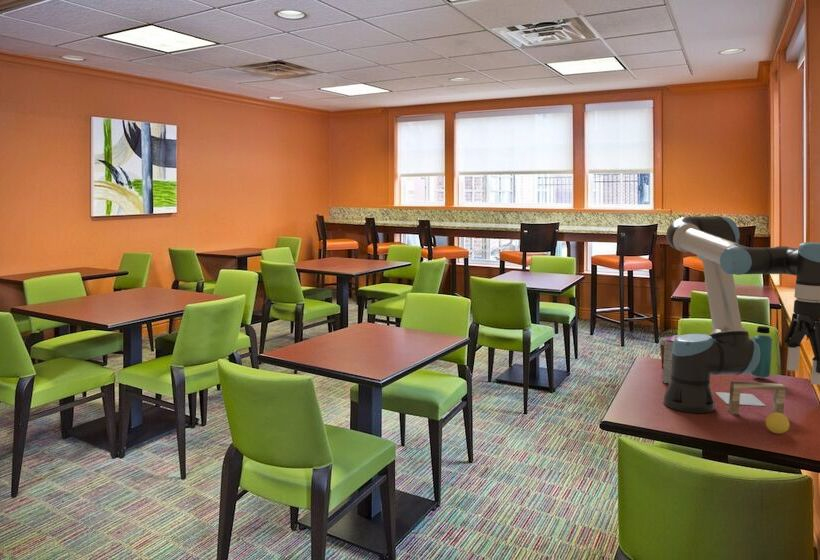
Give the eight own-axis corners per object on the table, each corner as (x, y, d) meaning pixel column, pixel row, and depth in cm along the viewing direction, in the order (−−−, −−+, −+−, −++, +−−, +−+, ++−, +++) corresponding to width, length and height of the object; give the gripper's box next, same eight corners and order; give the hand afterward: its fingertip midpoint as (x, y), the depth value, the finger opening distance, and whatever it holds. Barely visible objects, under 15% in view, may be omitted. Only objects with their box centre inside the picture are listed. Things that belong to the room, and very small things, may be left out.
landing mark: (726, 404, 201) (726, 403, 201) (715, 392, 213) (715, 392, 213) (765, 406, 199) (765, 405, 199) (752, 394, 211) (752, 394, 211)
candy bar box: (671, 376, 232) (674, 334, 230) (685, 378, 229) (688, 336, 227) (661, 382, 224) (663, 339, 222) (675, 385, 221) (678, 341, 219)
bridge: (783, 416, 190) (785, 386, 189) (731, 413, 192) (734, 384, 191) (779, 413, 193) (781, 383, 191) (728, 410, 195) (730, 381, 194)
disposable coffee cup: (653, 365, 247) (654, 336, 245) (675, 365, 248) (677, 336, 246) (665, 372, 238) (667, 342, 236) (688, 371, 239) (690, 341, 237)
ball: (769, 436, 175) (771, 416, 174) (761, 428, 180) (763, 408, 180) (792, 437, 174) (794, 417, 173) (783, 429, 179) (785, 410, 179)
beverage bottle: (773, 381, 227) (777, 328, 224) (755, 381, 227) (759, 328, 224) (763, 376, 233) (767, 324, 230) (746, 375, 233) (750, 324, 230)
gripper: (852, 308, 150) (844, 391, 153) (803, 293, 175) (797, 365, 178) (819, 307, 151) (812, 390, 154) (775, 292, 176) (769, 364, 179)
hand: (804, 376), depth 166 cm, fingers open, 13 cm apart
